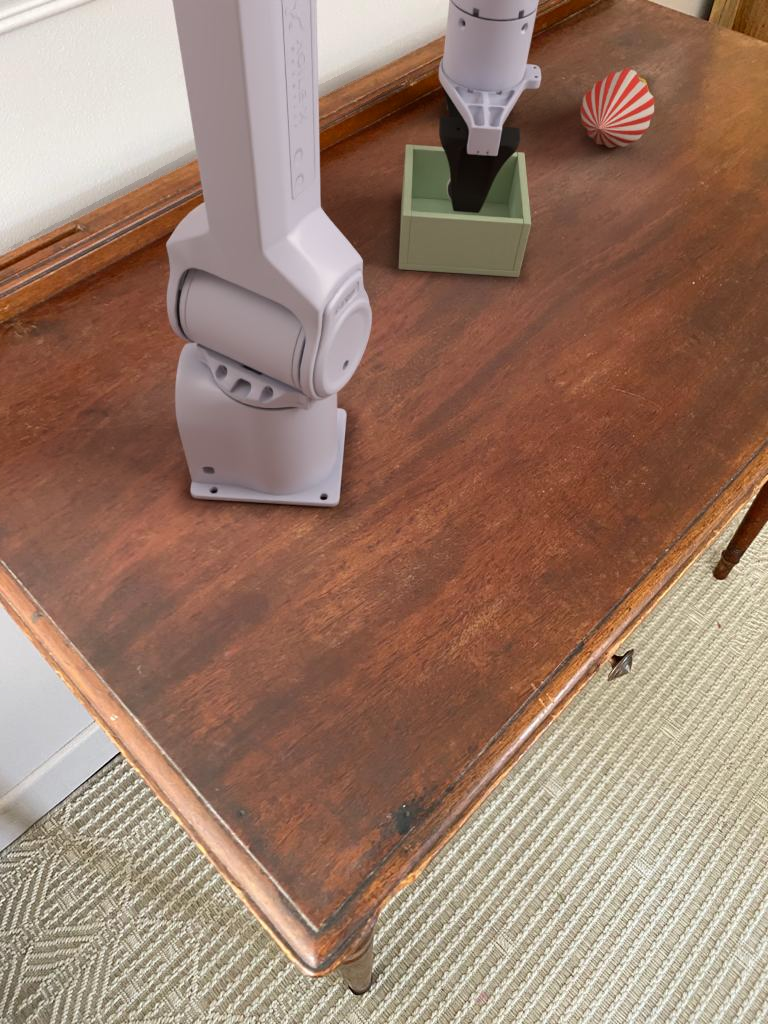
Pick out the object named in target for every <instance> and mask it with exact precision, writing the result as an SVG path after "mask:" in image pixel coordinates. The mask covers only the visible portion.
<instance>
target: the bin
mask: <svg viewBox="0 0 768 1024" xmlns="http://www.w3.org/2000/svg"><path fill="white" fill-rule="evenodd" d="M404 152H405V153H404V167H403V178H402V192H401V205H400V206H401V207H400V228H399V229H400V230H399V231H400V232H399V253H398V270H403V271H404V270H406V271H416V272H417V271H420V272H433V273H434V272H436V273H449V274H464V275H482V276H495V277H508V278H509V277H511V278H519V276H520V273H521V268H522V265H523V260H524V255H525V251H526V247H527V243H528V240H529V235H530V230H531V227H532V218H531V217H532V216H531V207H530V197H529V187H528V176H527V168H526V166H527V165H526V157H525V152H519V151H518V152H517V151H516V152H515V153H514V154H513V155H512V156H511V157H510V158H509V159H508V160H507V161H506V162H505V163H504V165H503V166H502V168H501V169H500V171H499V172H498V174H497V176H496V178H495V180H494V182H493V184H492V186H491V189H490V191H489V193H488V196H487V198H486V200H485V202H484V205H483V207H482V208H481V210H480V212H479V213H471V212H456V211H453V207H452V201H451V199H450V198H449V196H448V194H447V188H446V187H447V183H448V181H449V179H450V168H449V163H448V159H447V156H446V154H445V151H444V149H443V147H442V146H432V145H420V144H419V145H418V144H407V143H406V144H405V151H404Z"/></svg>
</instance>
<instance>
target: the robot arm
mask: <svg viewBox="0 0 768 1024" xmlns="http://www.w3.org/2000/svg"><path fill="white" fill-rule="evenodd" d="M171 1H172V7H173V13H174V19H175V26H176V32H177V39H178V44H179V51H180V57H181V64H182V69H183V76H184V82H185V89H186V95H187V99H188V100H187V101H188V108H189V113H190V120H191V126H192V132H193V139H194V144H195V151H196V158H197V165H198V172H199V176H200V177H199V178H200V184H201V189H202V196H203V202H202V203H200V204H199V205H197V206H196V207H195V208H193V209H192V210H191V211H189V212H188V214H186V215H185V217H184V218H182V220H181V221H180V222H179V223H178V225H176V228H175V229H174V231H173V232H172V234H171V235H170V236H169V238H168V240H167V241H166V243H165V247H166V251H167V256H168V262H169V279H168V283H167V289H166V311H167V318H168V322H169V324H170V327H171V329H172V331H173V332H174V333H175V334H176V335H177V336H178V337H179V338H180V339H182V340H184V341H186V342H187V343H185V344H184V345H183V347H182V350H181V352H180V355H179V358H178V363H177V367H176V368H177V369H176V377H175V388H174V389H175V391H174V403H175V417H176V418H175V419H176V425H177V428H178V429H177V430H178V432H179V436H180V437H179V438H180V440H181V444H182V448H183V453H184V455H185V460H186V463H187V467H188V471H189V475H190V478H191V485H190V489H189V490H190V495H191V496H192V498H194V499H198V500H212V501H227V502H228V501H229V502H230V501H231V502H245V503H263V504H279V505H294V506H295V505H296V506H311V507H328V508H329V507H330V508H333V507H336V506H338V504H340V503H339V502H340V498H341V485H342V475H343V463H344V453H345V452H344V450H345V439H346V427H347V411H346V410H345V409H344V408H340V407H338V392H339V391H341V390H342V389H343V388H345V386H346V385H347V384H348V382H349V381H350V380H351V378H353V375H354V374H355V372H356V370H357V369H358V367H359V365H360V363H361V361H362V359H363V356H364V353H365V351H366V348H367V345H368V342H369V340H370V336H371V331H372V325H373V324H372V323H373V313H372V311H373V310H372V308H371V305H370V299H369V295H368V293H367V291H366V290H365V286H364V276H363V275H364V274H363V273H364V272H363V271H364V268H363V267H364V260H363V258H362V256H361V255H360V253H359V252H358V251H357V250H356V249H355V247H354V246H353V245H352V243H351V242H350V241H349V240H348V239H347V237H346V236H345V235H344V234H343V233H342V232H341V230H340V229H339V228H338V227H337V226H336V225H335V224H334V222H333V221H332V220H331V219H330V217H329V216H328V215H327V214H326V213H325V211H324V209H323V207H322V206H321V205H322V203H321V202H322V201H321V200H322V199H321V155H320V154H321V153H320V152H321V149H320V102H319V100H320V99H319V96H320V95H319V59H318V58H319V54H318V53H319V51H318V47H319V46H318V1H317V0H171ZM448 2H449V3H448V10H447V20H446V29H445V37H444V46H443V47H444V48H443V54H442V55H443V56H442V58H441V60H440V62H439V67H438V80H439V82H440V85H441V87H442V91H443V93H444V97H445V101H446V107H447V106H448V110H447V112H449V113H448V116H440V117H439V121H438V136H439V141H440V144H441V147H443V149H444V151H445V154H446V156H447V159H448V163H449V168H450V180H451V201H452V207H453V211H456V212H471V213H479V212H480V210H481V208H482V207H483V205H484V202H485V200H486V198H487V196H488V193H489V191H490V189H491V186H492V184H493V182H494V180H495V178H496V176H497V174H498V172H499V171H500V169H501V168H502V166H503V165H504V163H505V162H506V161H507V160H508V159H509V158H510V157H511V156H512V155H513V154H514V153H515V152H517V150H518V148H519V146H520V143H521V130H520V129H521V127H514V126H503V125H504V124H505V122H506V121H507V118H508V117H509V115H510V113H511V112H512V110H513V109H514V106H515V105H516V104H517V102H518V100H519V98H520V96H521V95H522V93H523V91H525V90H537V89H539V88H540V86H541V82H542V71H541V68H540V66H538V65H537V64H532V63H531V64H530V63H528V57H529V52H530V49H531V43H532V39H533V38H532V37H533V32H534V28H535V22H536V17H537V12H538V7H539V3H540V0H449V1H448ZM214 491H216V492H214ZM213 492H214V493H213ZM322 498H326V499H322Z"/></svg>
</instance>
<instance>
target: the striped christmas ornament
mask: <svg viewBox="0 0 768 1024" xmlns="http://www.w3.org/2000/svg"><path fill="white" fill-rule="evenodd" d="M581 102H582V103H581V105H580V116H581V120H580V121H581V124H582V126H583V127H584V128H585V129H586V130H587V136H588V137H589V138H590V139H593V140H594V143H596V144H597V145H604V146H605V147H606V148H610V149H612V148H615V147H619V148H624V147H627V146H629V145H630V144H631V143H634V142H636V141H638V140H639V139H641V137H642V136H643V135H644V133H646V131H647V130H648V129H649V127H650V123H651V119H652V116H653V115H654V113H655V97H654V95H652V93H651V92H650V90H649V86H648V83H647V80H646V79H645V78H642V77H639V75H638V73H637V71H635V70H634V69H630V68H624V69H622V70H620V71H618V72H610V73H608V75H607V76H606V77H605V78H603V79H602V80H598V81H596V82H595V83H594V85H593V87H592V88H591V89H590V90H589V91H587V92H586V93H585V94H584V95H583V98H582V101H581Z"/></svg>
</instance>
